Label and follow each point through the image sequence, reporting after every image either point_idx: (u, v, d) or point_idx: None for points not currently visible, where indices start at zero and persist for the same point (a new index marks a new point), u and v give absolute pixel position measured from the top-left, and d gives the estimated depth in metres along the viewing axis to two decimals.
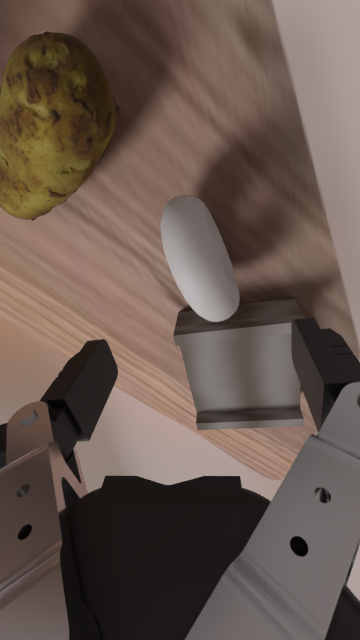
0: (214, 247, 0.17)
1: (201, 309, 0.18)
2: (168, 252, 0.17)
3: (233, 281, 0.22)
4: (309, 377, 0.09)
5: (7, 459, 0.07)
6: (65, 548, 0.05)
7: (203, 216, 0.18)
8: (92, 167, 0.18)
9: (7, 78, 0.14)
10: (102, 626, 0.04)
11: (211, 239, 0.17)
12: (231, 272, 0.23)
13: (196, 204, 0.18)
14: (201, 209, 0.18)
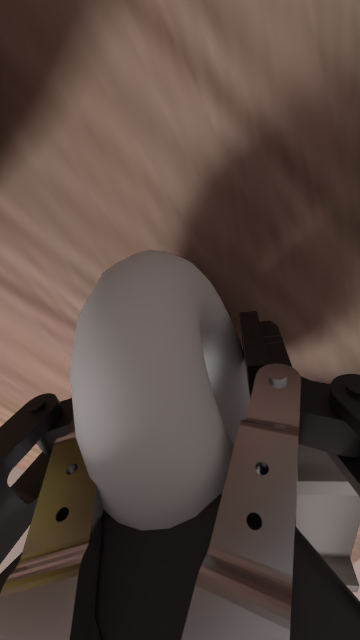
0: (218, 432, 0.06)
1: None
2: (79, 446, 0.06)
3: None
4: None
5: (71, 427, 0.08)
6: (65, 548, 0.05)
7: (185, 332, 0.06)
8: None
9: None
10: (102, 626, 0.04)
11: (207, 410, 0.06)
12: None
13: (166, 294, 0.06)
14: (180, 307, 0.06)
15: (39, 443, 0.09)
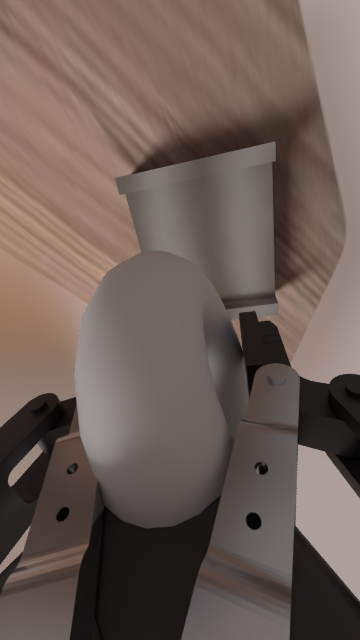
0: (222, 431, 0.06)
1: None
2: (83, 445, 0.06)
3: None
4: None
5: (71, 427, 0.08)
6: (65, 548, 0.05)
7: (190, 333, 0.06)
8: None
9: None
10: (102, 626, 0.04)
11: (212, 410, 0.06)
12: None
13: (172, 294, 0.06)
14: (185, 307, 0.07)
15: (40, 443, 0.09)
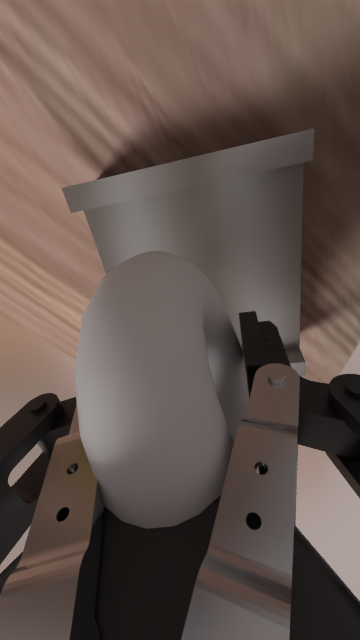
0: (222, 432, 0.06)
1: None
2: None
3: None
4: None
5: (72, 426, 0.08)
6: (65, 548, 0.05)
7: (190, 333, 0.06)
8: None
9: None
10: (102, 626, 0.04)
11: (212, 410, 0.06)
12: None
13: (172, 294, 0.06)
14: (185, 308, 0.07)
15: (40, 443, 0.09)
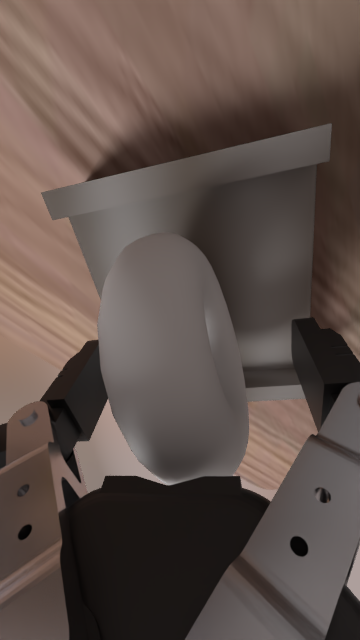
0: (213, 373, 0.08)
1: None
2: (104, 376, 0.07)
3: (239, 388, 0.12)
4: (309, 377, 0.09)
5: (8, 459, 0.07)
6: (65, 548, 0.05)
7: (193, 295, 0.08)
8: None
9: None
10: (102, 626, 0.04)
11: (206, 355, 0.07)
12: (236, 365, 0.13)
13: (180, 265, 0.08)
14: (190, 276, 0.08)
15: None
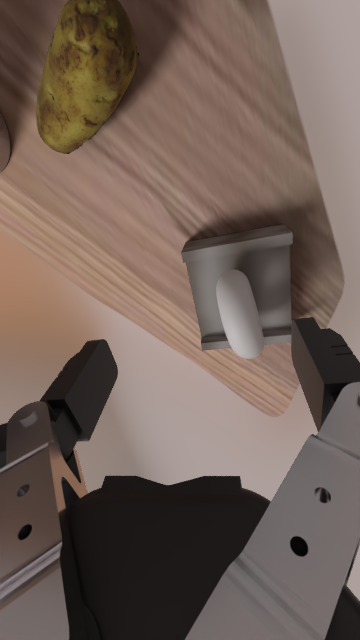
0: (254, 313, 0.26)
1: (240, 352, 0.27)
2: (223, 314, 0.26)
3: (260, 329, 0.31)
4: (309, 377, 0.09)
5: (8, 459, 0.07)
6: (65, 548, 0.05)
7: (248, 291, 0.26)
8: (118, 100, 0.24)
9: (61, 23, 0.20)
10: (102, 626, 0.04)
11: (253, 308, 0.26)
12: (258, 321, 0.32)
13: (243, 282, 0.27)
14: (246, 285, 0.27)
15: None
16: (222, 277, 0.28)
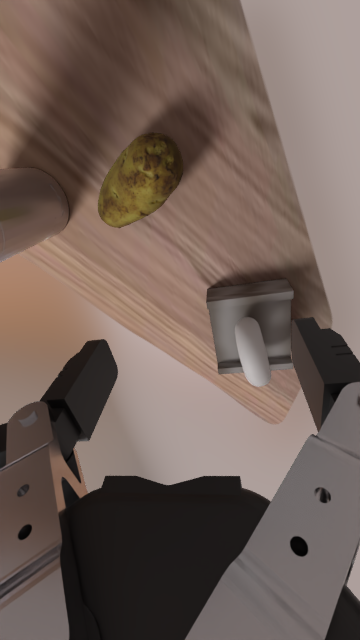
0: (265, 355, 0.35)
1: (254, 383, 0.36)
2: (242, 356, 0.34)
3: (267, 362, 0.39)
4: (309, 377, 0.09)
5: (7, 459, 0.07)
6: (65, 548, 0.05)
7: (260, 338, 0.35)
8: (166, 199, 0.32)
9: (133, 157, 0.28)
10: (102, 626, 0.04)
11: (264, 351, 0.35)
12: (265, 355, 0.40)
13: (257, 331, 0.35)
14: (259, 333, 0.35)
15: None
16: (240, 325, 0.36)
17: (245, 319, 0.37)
